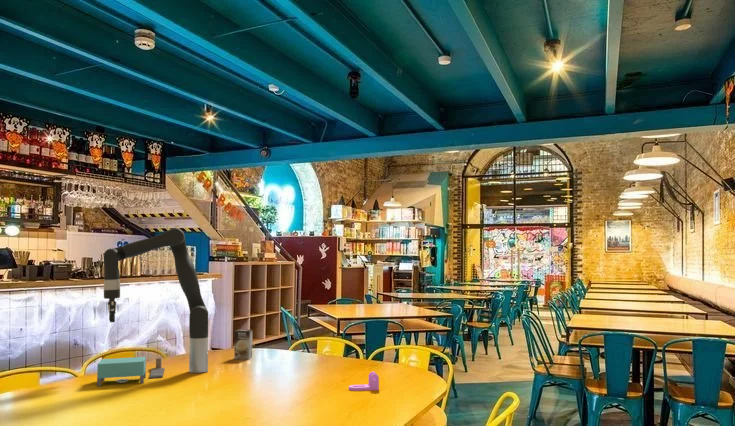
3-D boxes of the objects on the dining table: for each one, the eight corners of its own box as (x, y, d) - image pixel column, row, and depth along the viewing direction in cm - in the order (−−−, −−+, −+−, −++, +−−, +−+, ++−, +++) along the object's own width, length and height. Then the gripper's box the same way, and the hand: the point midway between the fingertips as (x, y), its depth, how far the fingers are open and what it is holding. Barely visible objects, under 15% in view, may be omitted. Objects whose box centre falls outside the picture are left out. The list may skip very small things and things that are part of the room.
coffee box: (233, 359, 337) (233, 330, 338) (237, 357, 344) (237, 329, 345) (249, 359, 336) (249, 330, 337) (252, 357, 343) (252, 329, 344)
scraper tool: (153, 367, 315) (153, 356, 315) (165, 366, 317) (165, 355, 317) (149, 378, 288) (149, 366, 289) (162, 377, 290) (162, 365, 290)
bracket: (376, 387, 267) (376, 371, 268) (378, 390, 262) (378, 374, 262) (348, 388, 266) (348, 372, 266) (349, 391, 260) (349, 375, 261)
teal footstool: (145, 377, 291) (145, 356, 291) (143, 383, 278) (143, 361, 279) (101, 380, 285) (101, 359, 286) (97, 386, 272) (97, 364, 273)
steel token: (128, 381, 285) (128, 378, 285) (127, 383, 280) (127, 380, 280) (117, 381, 283) (117, 379, 283) (115, 383, 278) (115, 381, 278)
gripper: (120, 289, 291) (120, 322, 290) (119, 287, 304) (119, 319, 303) (104, 289, 288) (104, 323, 287) (103, 288, 301) (103, 320, 300)
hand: (111, 321), depth 295 cm, fingers open, 8 cm apart
